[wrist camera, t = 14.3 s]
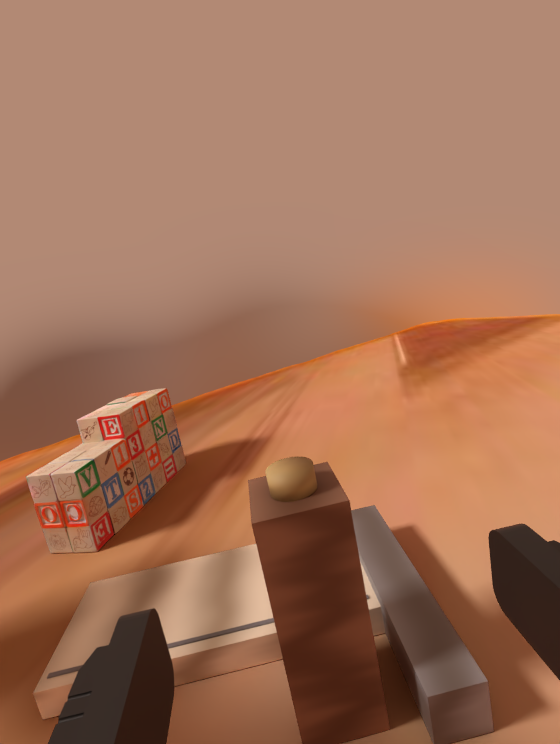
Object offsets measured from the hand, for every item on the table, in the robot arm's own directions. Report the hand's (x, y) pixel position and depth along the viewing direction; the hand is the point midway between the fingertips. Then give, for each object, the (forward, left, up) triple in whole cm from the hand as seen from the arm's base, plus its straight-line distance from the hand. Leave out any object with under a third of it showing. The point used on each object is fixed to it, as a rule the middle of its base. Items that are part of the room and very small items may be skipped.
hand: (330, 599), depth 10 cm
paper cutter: (-16, +6, -16) cm, 23 cm away
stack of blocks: (-46, +13, -16) cm, 51 cm away
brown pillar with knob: (-8, +7, -16) cm, 19 cm away
